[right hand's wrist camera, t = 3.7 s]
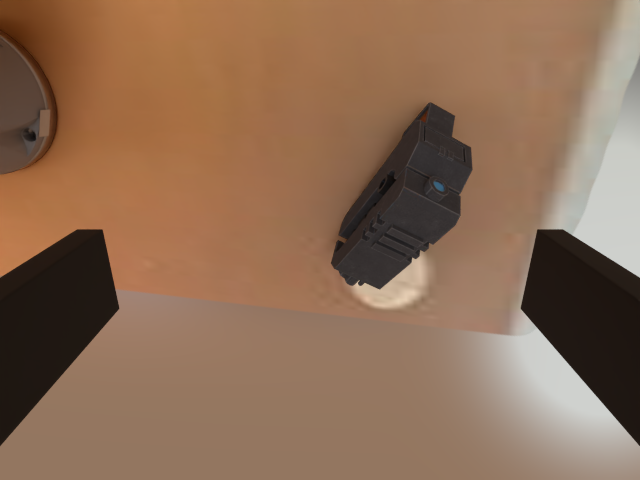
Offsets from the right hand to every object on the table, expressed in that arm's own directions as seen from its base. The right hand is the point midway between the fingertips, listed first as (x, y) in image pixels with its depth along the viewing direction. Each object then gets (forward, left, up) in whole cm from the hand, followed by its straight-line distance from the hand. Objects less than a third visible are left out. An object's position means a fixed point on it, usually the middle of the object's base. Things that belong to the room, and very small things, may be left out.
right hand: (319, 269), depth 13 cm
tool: (+5, -8, -34) cm, 36 cm away
